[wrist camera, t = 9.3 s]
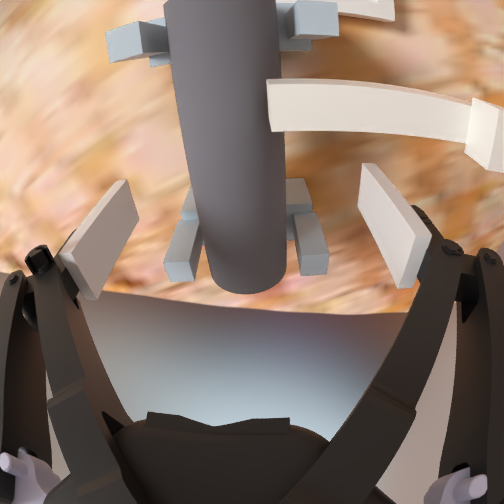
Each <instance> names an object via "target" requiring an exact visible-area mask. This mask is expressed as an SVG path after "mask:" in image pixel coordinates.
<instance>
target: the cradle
mask: <svg viewBox="0 0 504 504" xmlns="http://www.w3.org/2000/svg"><path fill="white" fill-rule="evenodd" d="M276 9H277V20H278V33H279V46H280V51H312V40H319V39H324V38H330V37H337V36H339V22H338V7H337V3H335V2H325V1H310V0H297V1H296V2H295V3H276ZM105 33H106V41H107V48H108V54H109V61H110V63H114V62H120V61H126V60H133V59H140V58H146V57H149V59H150V66H151V67H156V66H161V65H166V64H171V63H170V55H169V48H168V40H167V32H166V24H165V17H163V18H159V19H155V20H151V21H148V22H141V21H137V22H134V23H131V24H127V25H124V26H121V27H118V28H116V29H113V30H110V31H107V32H105ZM312 206H313V203H312V200H311V197H310V194H309V191H308V188H307V185H306V183H305V180H304V178H292V179H286V240H295V245H296V251H297V257H298V263H299V269H300V275H301V276H309V275H325V274H327V270H328V262H329V255H330V254H329V250H328V247H327V244H326V241H325V237H324V234H323V231H322V228H321V225H320V221H319V218H318V215H317V212H312ZM180 213H181V217H182V221H178V223H177V225H176V228H175V231H174V234H173V236H172V239H171V242H170V245H169V247H168V250H167V253H166V256H165V259H164V262H163V264H164V267H165V269H166V272H167V275H168V277H169V280H170V282H182V281H195V277H196V272H197V267H198V263H199V258H200V253H201V249H202V245H204V241H203V236H202V232H201V227H200V223H199V218H198V214H197V209H196V204H195V199H194V194H193V190H192V186H191V187H190V189H189V191H188V194H187V196H186V199H185V201H184V204H183V206H182V209H181V211H180Z"/></svg>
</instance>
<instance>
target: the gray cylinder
mask: <svg viewBox="0 0 504 504" xmlns="http://www.w3.org/2000/svg"><path fill="white" fill-rule="evenodd" d="M164 15H165V24H166V32H167V40H168V48H169V55H170V63H171V70H172V76H173V83H174V90H175V96H176V102H177V108H178V114H179V120H180V126H181V132H182V137H183V143H184V148H185V154H186V159H187V164H188V169H189V175H190V180H191V185H192V190H193V194H194V199H195V204H196V209H197V214H198V218H199V223H200V227H201V232H202V236H203V241H204V245H205V250H206V254H207V258H208V263H209V267H210V271H211V275H212V278H213V280H214V281H215V283H216V284H217V285H218V286H219V287H221V288H222V289H224V290H226V291H229V292H232V293H236V294H255V293H259V292H263V291H265V290H268V289H270V288H271V287H273V286H275V285H276V284H277V283H278V282H279V281H280V280H281V279H282V278H283V276H284V274H285V272H286V261H287V245H286V173H285V140H284V131H282V132H272V131H271V126H270V121H269V113H268V98H267V83H266V79H282V77H281V61H280V46H279V33H278V20H277V9H276V0H168V1H167V2H166V3H165V4H164Z"/></svg>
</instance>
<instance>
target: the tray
mask: <svg viewBox="0 0 504 504" xmlns="http://www.w3.org/2000/svg"><path fill="white" fill-rule="evenodd" d="M296 1H297V0H276V3H295V2H296ZM310 1H325V2H335V3H337V7H338V15H341V16H350V17H357V18H364V19H370V20H376V21H381V22H393V21H395V10H394V0H310Z"/></svg>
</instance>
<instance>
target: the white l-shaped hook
mask: <svg viewBox="0 0 504 504" xmlns="http://www.w3.org/2000/svg"><path fill="white" fill-rule="evenodd" d="M266 83H267V98H268V113H269V121H270V126H271V131H272V132H282V131H353V132H373V133H387V134H399V135H409V136H418V137H426V138H434V139H441V140H448V141H454V142H460V143H465V144H466V146H465V151H464V153H465V154H467V155H468V156H470V157H471V158H472V159H473V160H475V161H476V162H477V163H479V164H480V165H481V166H483V167H484V168H485V169H486V170H489V171H495V172H501V173H504V108H503V107H500V106H497V105H495V104H492V103H489V102H486V101H483V100H480V99H477V98H474V97H473V98H472V102H469V101H466V100H462V99H459V98H455V97H451V96H447V95H443V94H438V93H434V92H429V91H424V90H419V89H414V88H408V87H402V86H396V85H389V84H381V83H373V82H363V81H352V80H337V79H309V78H289V79H266Z"/></svg>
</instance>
